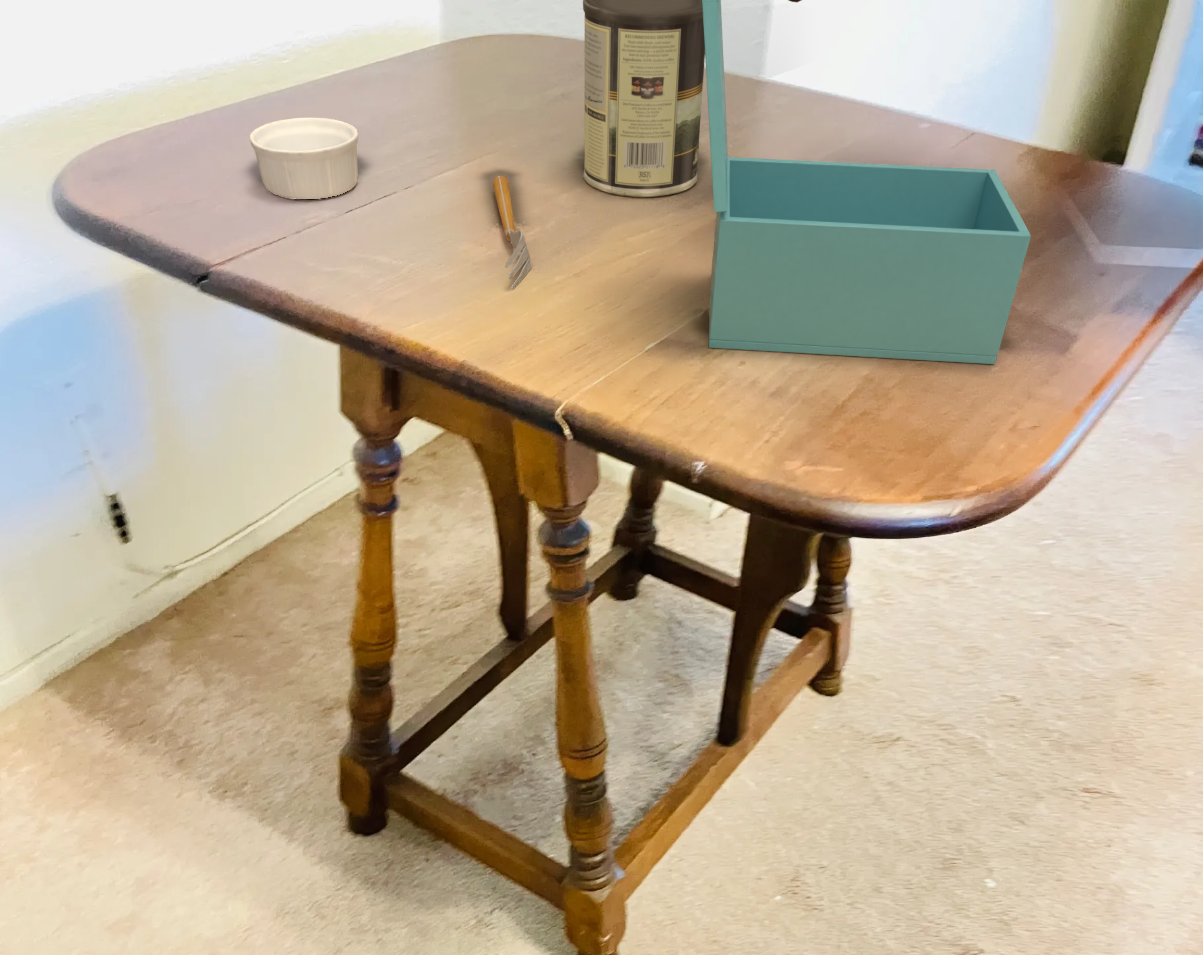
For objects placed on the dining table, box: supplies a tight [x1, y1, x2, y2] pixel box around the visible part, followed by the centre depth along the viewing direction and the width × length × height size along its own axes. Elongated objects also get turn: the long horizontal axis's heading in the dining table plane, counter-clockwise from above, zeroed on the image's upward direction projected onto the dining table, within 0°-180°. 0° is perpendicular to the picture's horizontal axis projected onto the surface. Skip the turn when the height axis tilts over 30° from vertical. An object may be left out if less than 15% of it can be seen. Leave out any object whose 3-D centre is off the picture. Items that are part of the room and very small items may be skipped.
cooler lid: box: [702, 0, 729, 213], centre depth 64 cm, size 19×12×1 cm
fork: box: [492, 175, 533, 290], centre depth 85 cm, size 2×2×20 cm
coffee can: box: [582, 0, 706, 198], centre depth 91 cm, size 10×10×14 cm
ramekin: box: [249, 116, 359, 200], centre depth 92 cm, size 9×9×4 cm
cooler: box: [708, 156, 1032, 365], centre depth 72 cm, size 19×12×9 cm, turn 85°
